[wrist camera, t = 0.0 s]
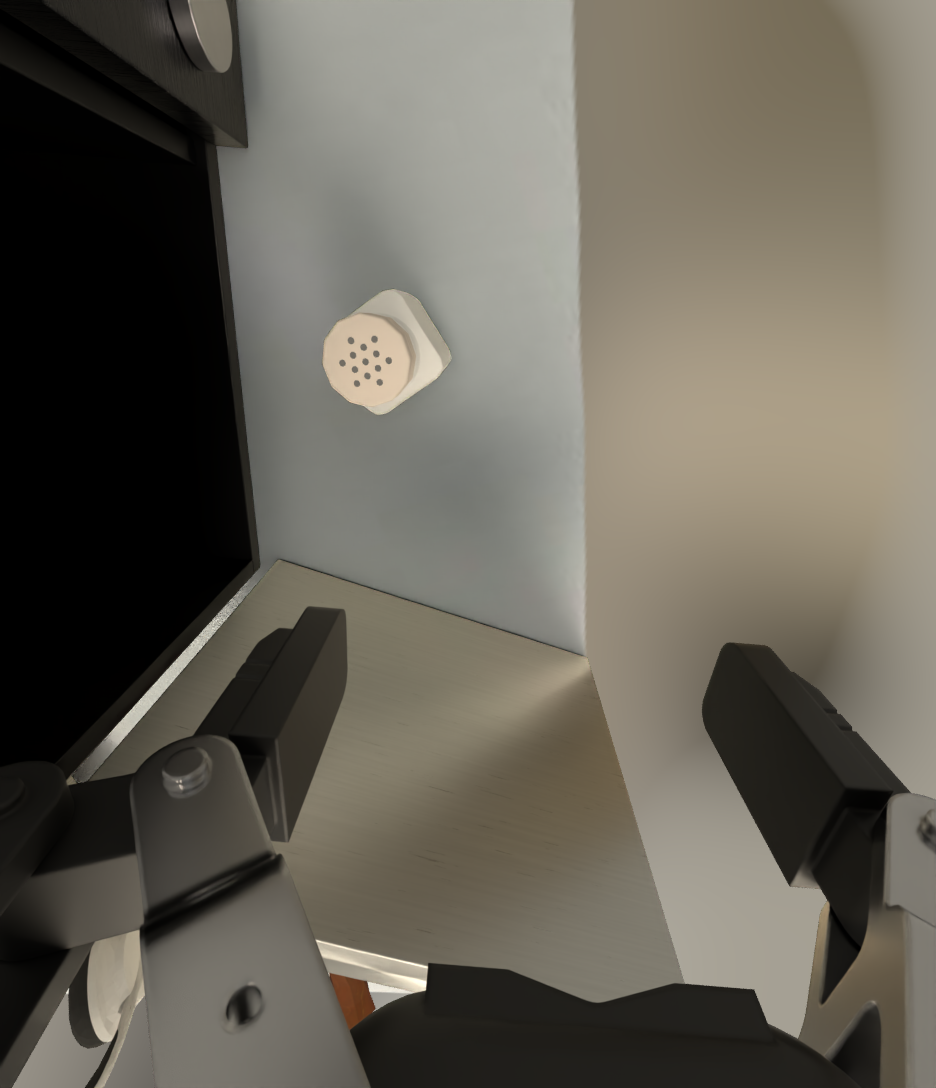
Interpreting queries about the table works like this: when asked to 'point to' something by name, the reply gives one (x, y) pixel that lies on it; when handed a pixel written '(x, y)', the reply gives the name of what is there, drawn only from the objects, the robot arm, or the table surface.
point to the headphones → (106, 998)
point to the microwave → (114, 359)
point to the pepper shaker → (384, 352)
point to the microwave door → (447, 799)
